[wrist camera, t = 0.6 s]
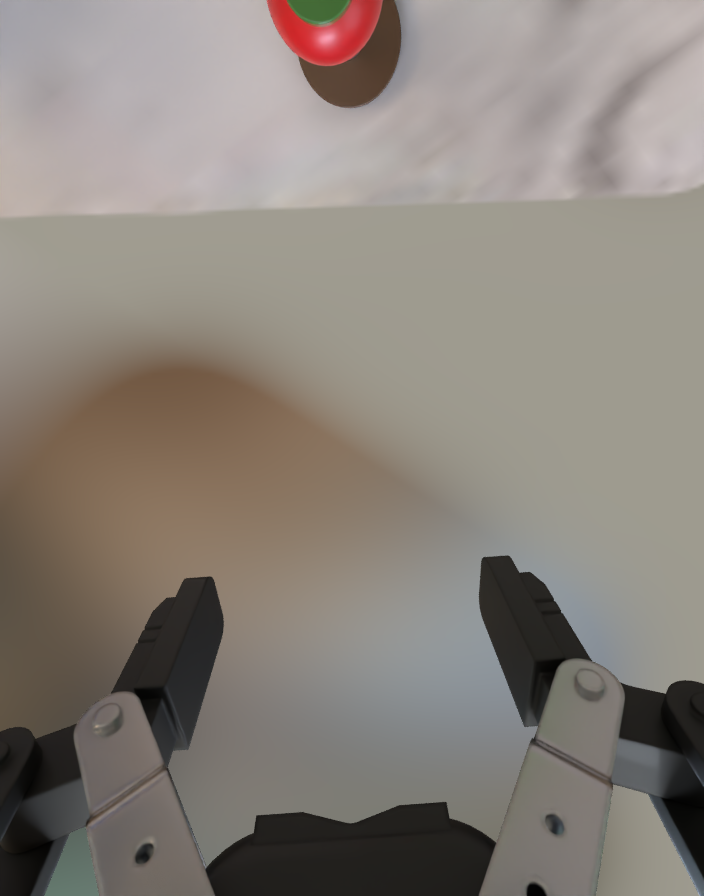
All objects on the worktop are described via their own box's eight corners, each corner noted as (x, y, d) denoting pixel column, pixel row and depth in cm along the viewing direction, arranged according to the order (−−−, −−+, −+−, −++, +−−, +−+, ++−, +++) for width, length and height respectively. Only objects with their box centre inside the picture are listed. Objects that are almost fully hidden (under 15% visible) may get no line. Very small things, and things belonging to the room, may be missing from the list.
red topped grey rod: (279, 30, 26) (164, -63, 12) (361, -62, 24) (336, -308, 10) (340, 130, 29) (304, 150, 15) (419, 58, 26) (464, 1, 12)
